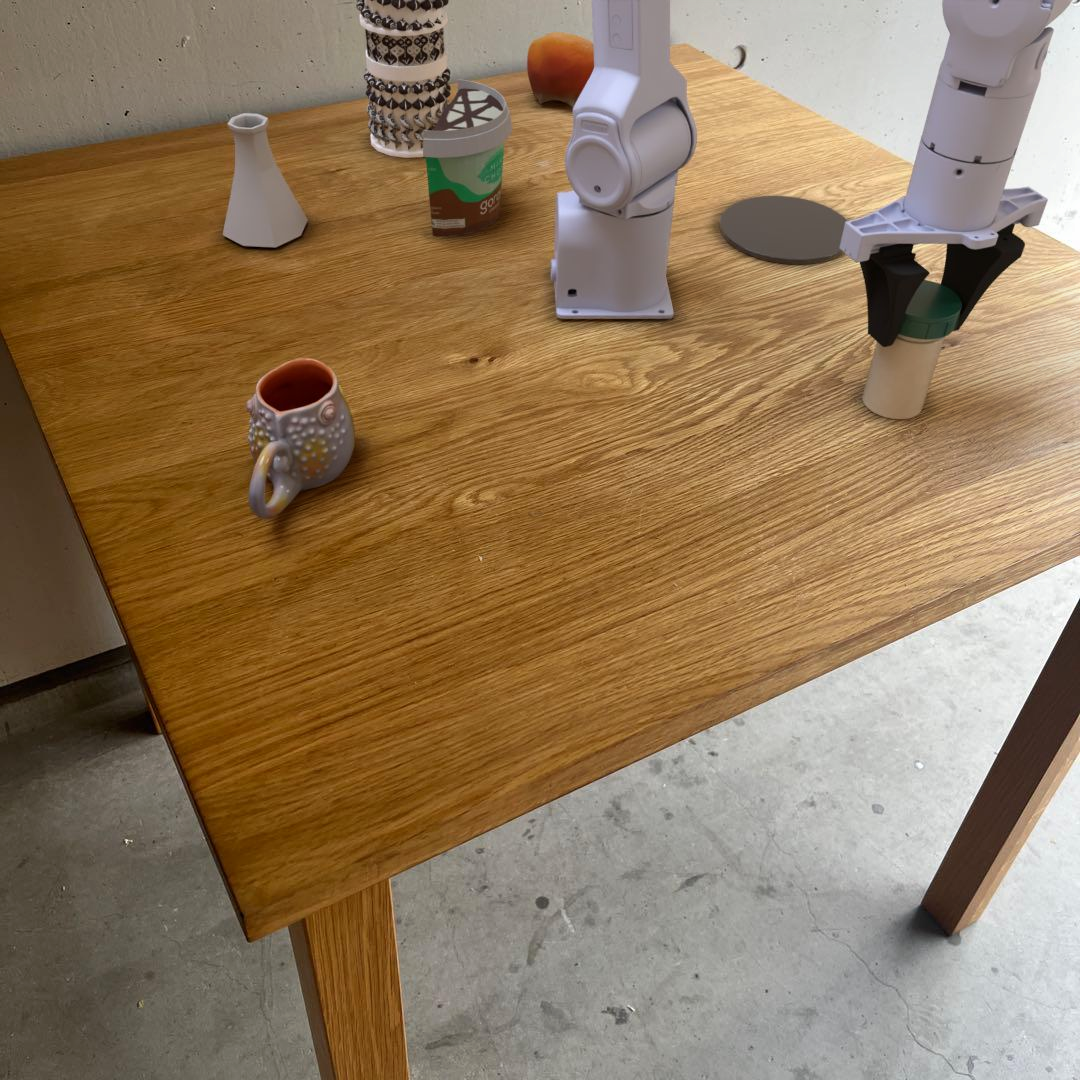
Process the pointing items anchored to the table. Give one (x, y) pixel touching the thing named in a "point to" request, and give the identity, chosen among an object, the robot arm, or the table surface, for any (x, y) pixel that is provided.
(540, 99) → the fruit
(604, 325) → the table surface
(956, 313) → the lid
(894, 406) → the jar
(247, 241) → the flask
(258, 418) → the mug
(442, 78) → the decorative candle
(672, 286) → the table surface
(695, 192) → the table surface
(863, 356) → the table surface
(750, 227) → the coaster
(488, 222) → the food container
